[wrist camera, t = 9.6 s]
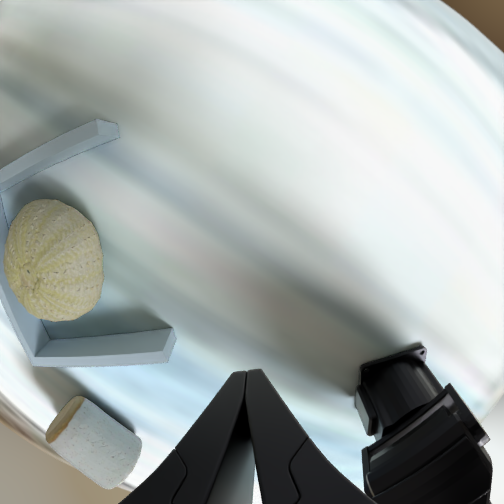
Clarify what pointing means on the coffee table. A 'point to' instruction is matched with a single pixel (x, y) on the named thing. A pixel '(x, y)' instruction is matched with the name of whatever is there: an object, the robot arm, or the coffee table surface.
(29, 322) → the corral
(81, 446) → the ceramic mug
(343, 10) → the coffee table surface
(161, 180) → the coffee table surface
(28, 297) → the sea urchin shell
